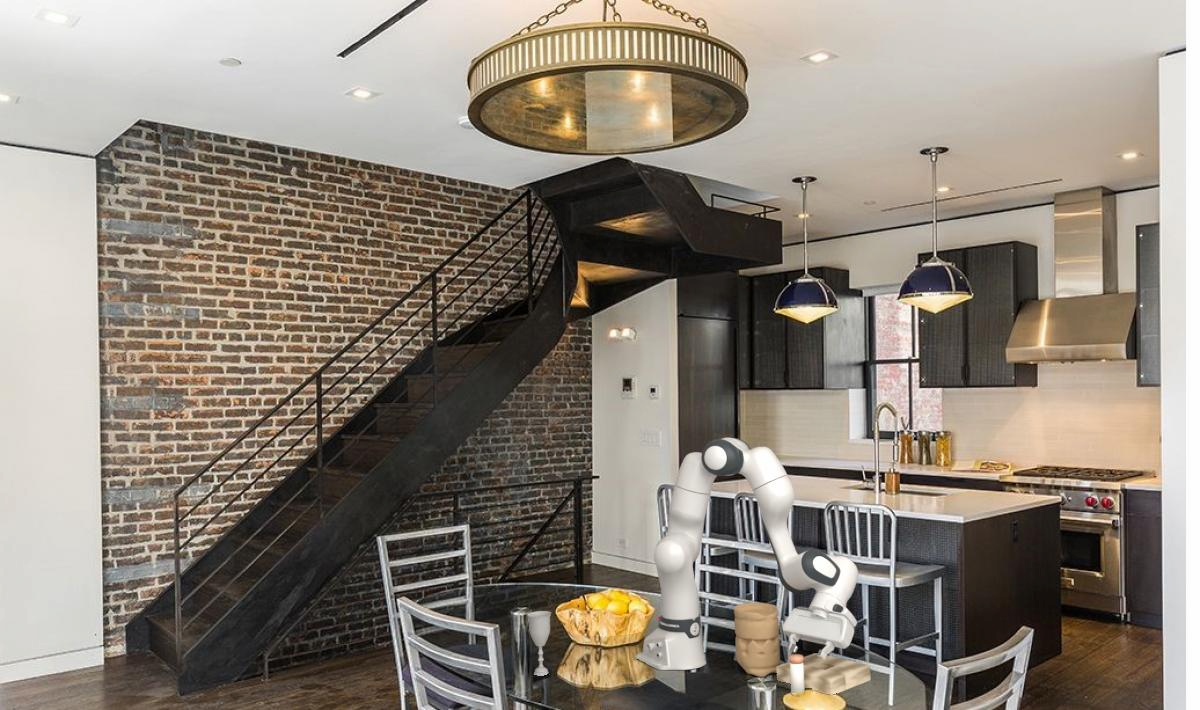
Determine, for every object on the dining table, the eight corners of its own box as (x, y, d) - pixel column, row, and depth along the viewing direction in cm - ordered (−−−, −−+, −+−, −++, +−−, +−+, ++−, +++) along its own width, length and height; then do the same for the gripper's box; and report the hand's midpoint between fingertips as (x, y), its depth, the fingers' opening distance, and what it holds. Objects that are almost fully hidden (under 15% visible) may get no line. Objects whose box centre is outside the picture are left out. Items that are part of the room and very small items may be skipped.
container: (789, 669, 259) (786, 606, 260) (764, 680, 250) (761, 614, 251) (753, 661, 268) (750, 600, 269) (727, 671, 259) (725, 608, 260)
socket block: (777, 681, 249) (776, 666, 249) (816, 666, 260) (815, 652, 261) (831, 695, 235) (830, 680, 235) (870, 680, 247) (869, 665, 247)
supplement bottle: (826, 653, 274) (824, 613, 274) (803, 652, 275) (801, 613, 276) (825, 647, 280) (823, 608, 281) (803, 646, 282) (801, 608, 282)
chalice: (543, 671, 266) (541, 610, 267) (558, 675, 261) (556, 613, 262) (524, 677, 261) (522, 614, 262) (539, 681, 256) (537, 618, 257)
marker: (788, 694, 237) (786, 656, 238) (796, 691, 240) (794, 653, 240) (799, 697, 235) (797, 658, 235) (807, 694, 237) (805, 655, 238)
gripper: (790, 598, 254) (769, 640, 247) (852, 609, 238) (832, 654, 231) (800, 611, 256) (780, 653, 250) (862, 623, 241) (843, 668, 234)
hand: (806, 654), depth 240 cm, fingers open, 8 cm apart
